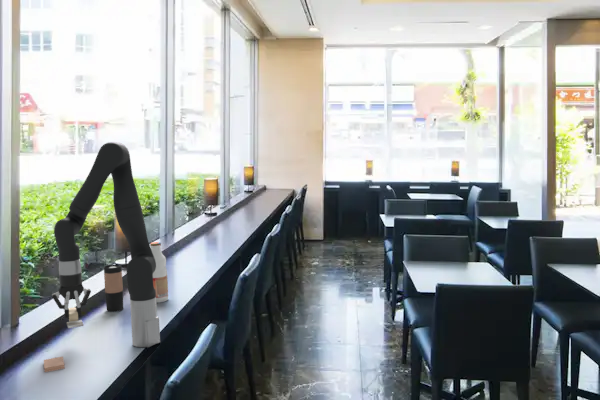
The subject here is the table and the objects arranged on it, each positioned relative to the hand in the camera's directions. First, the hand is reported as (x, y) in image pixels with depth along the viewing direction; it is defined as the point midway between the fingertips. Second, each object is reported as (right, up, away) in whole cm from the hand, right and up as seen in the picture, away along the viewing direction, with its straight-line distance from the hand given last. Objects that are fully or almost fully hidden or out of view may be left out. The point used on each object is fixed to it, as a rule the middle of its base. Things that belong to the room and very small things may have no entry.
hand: (72, 317), depth 198 cm
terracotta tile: (-1, -12, -14) cm, 18 cm away
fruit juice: (+16, -5, +60) cm, 62 cm away
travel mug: (0, -7, +46) cm, 46 cm away
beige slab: (+1, -1, -2) cm, 2 cm away
